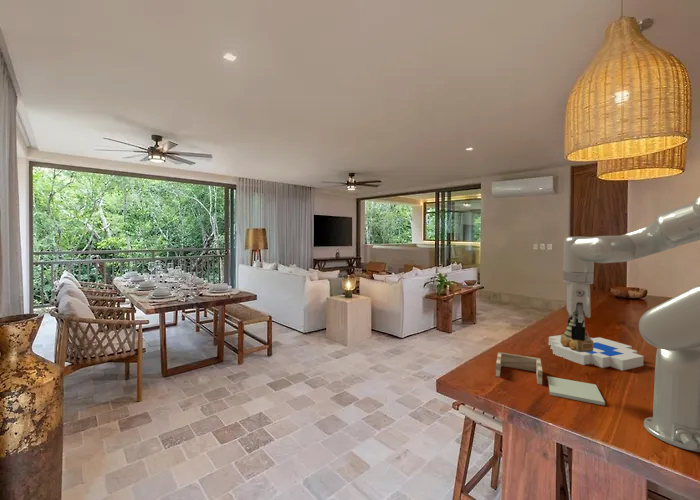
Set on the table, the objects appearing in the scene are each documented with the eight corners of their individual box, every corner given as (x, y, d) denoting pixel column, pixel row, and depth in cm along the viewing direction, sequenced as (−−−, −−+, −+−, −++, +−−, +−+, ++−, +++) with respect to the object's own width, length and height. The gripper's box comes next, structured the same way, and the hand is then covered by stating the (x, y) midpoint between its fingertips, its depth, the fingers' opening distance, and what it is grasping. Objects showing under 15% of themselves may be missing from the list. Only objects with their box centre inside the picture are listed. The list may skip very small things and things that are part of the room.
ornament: (597, 352, 95) (598, 318, 94) (580, 354, 94) (581, 320, 93) (573, 343, 103) (574, 312, 102) (557, 345, 101) (558, 313, 101)
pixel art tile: (656, 353, 121) (607, 363, 111) (656, 363, 121) (607, 375, 112) (580, 331, 147) (535, 338, 137) (580, 340, 148) (535, 348, 138)
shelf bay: (541, 384, 103) (542, 370, 103) (495, 376, 110) (496, 363, 109) (539, 371, 114) (540, 358, 114) (497, 363, 120) (498, 351, 120)
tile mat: (604, 405, 91) (604, 402, 91) (550, 395, 97) (550, 391, 97) (595, 387, 101) (595, 384, 101) (547, 379, 107) (547, 376, 107)
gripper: (599, 282, 88) (597, 346, 89) (587, 275, 103) (585, 330, 104) (566, 280, 91) (564, 342, 92) (559, 273, 107) (557, 327, 108)
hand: (575, 335), depth 98 cm, fingers closed on ornament, 7 cm apart
